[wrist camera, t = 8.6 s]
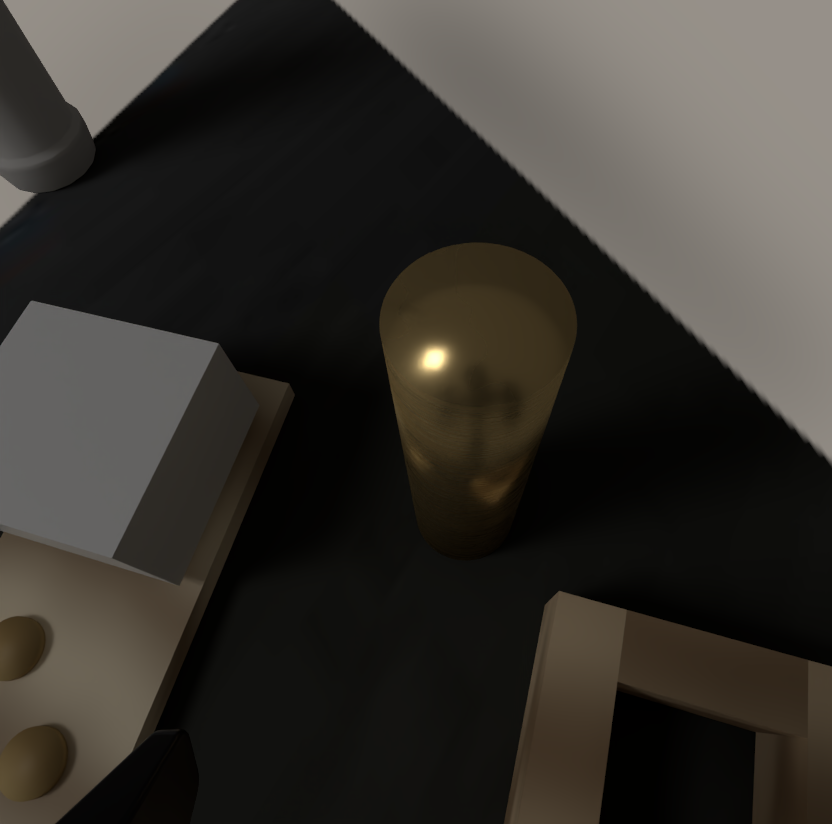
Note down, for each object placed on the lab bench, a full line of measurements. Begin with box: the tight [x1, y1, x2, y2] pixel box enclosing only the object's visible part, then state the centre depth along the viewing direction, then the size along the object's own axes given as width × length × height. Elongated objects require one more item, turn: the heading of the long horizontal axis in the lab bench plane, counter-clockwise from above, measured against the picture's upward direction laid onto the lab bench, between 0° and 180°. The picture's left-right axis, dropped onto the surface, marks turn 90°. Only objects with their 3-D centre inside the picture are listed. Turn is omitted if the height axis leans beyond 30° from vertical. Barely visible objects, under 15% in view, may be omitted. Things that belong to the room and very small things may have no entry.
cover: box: [0, 301, 259, 586], centre depth 20 cm, size 7×7×4 cm
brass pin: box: [380, 243, 577, 560], centre depth 16 cm, size 4×4×12 cm
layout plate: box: [0, 371, 295, 824], centre depth 21 cm, size 18×8×1 cm, turn 164°
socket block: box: [504, 591, 832, 824], centre depth 17 cm, size 9×9×3 cm
